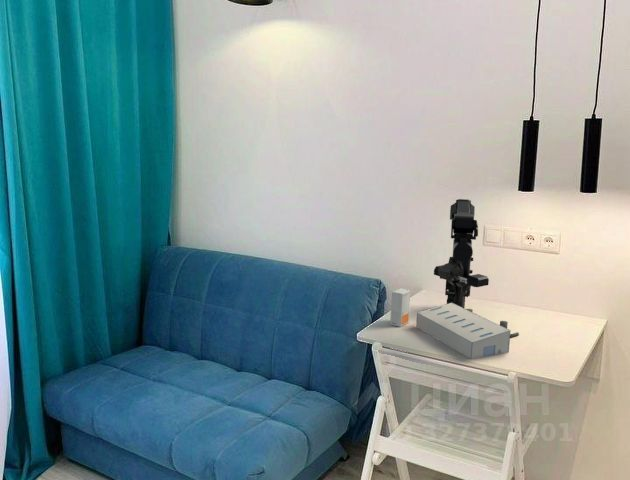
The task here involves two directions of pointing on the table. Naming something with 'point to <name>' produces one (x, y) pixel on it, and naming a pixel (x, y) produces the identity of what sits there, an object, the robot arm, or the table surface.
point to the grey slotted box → (464, 330)
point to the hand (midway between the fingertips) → (458, 301)
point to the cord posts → (503, 324)
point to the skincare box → (400, 307)
